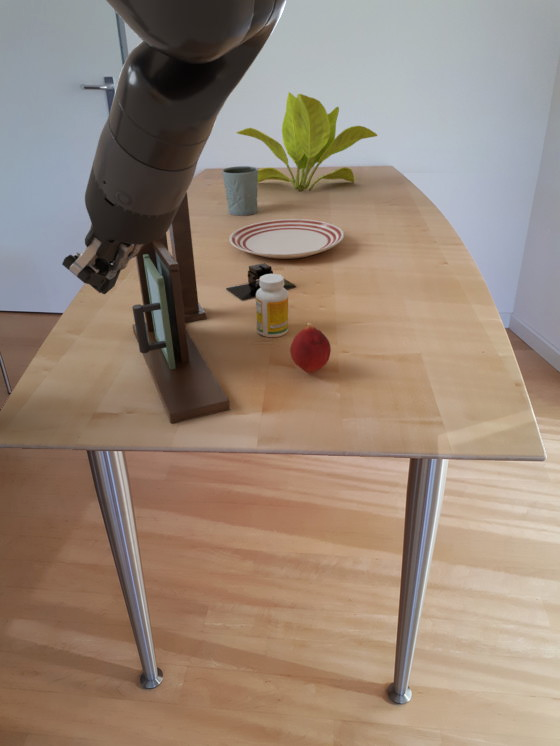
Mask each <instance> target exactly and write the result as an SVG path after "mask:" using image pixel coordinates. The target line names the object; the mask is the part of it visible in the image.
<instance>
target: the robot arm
mask: <svg viewBox="0 0 560 746" xmlns="http://www.w3.org/2000/svg"><path fill="white" fill-rule="evenodd" d="M105 1H106V3H107V4H109V6H110V7H111V8H112V9H113V10H114V12H115V13H116V14H117V15H118V17H120V19H121V20H122V21H123V22H124V23H125V24H126V25H127V27H128V28H129V29H130V30H131V31H132V33H134V34H135V35H136V36H137V37H138V38H139V39H141V41H140V42H139V43H138V44H137V45H136V46H135V47H134V48H133V49H132V50H131V52H130V53H129V55H128V56H127V57H126V59H125V61H124V63H123V66H122V68H121V71H120V73H119V77H118V81H117V84H116V87H115V92H114V96H113V99H112V103H111V106H110V111H109V114H108V117H107V119H106V122H105V124H104V125H103V128H102V130H101V132H100V135H99V138H98V142H97V146H96V148H95V149H96V150H95V154H94V158H93V161H92V165H91V169H90V173H89V177H88V180H87V181H88V182H87V184H86V187H85V193H84V205H85V209H86V212H87V214H88V218H89V220H90V223H91V224H90V228H89V230H88V233H87V234H86V235H85V237H84V245H85V247H86V248H85V249H84V250H83V252H81V253H80V252H76V253H75V254H74V255H73V254H69V255H67V256H65V257H64V258H63V261H62V262H61V265H62V266H63V267H64V268H65V269H67V270H68V271H69V272H70V273H71V274H73V276H75V277H76V278H77V279H78V280H80V281H81V282H82V283H83V284H86V285H90V286H91V287H92V289H94V290H95V291H97V293H99V294H102V295H106V294H107V293H108V292H109V291H111V290H112V289H113V288H114V287H115V286H116V283H117V281H118V278H119V276H120V273H121V271H123V270H125V269H126V268H127V266H128V264H129V261H131V260H132V259H133V258H136V257H135V256H137V255H138V254H139V252H140V250H141V249H142V248H143V246H144V245H145V244H147V243H152V242H154V241H156V240H158V239H160V238H161V237H163V236H164V235H165V233H166V234H167V233H168V231H169V227H170V225H171V223H172V221H173V219H174V217H175V215H176V213H177V211H178V209H179V206H180V204H181V202H182V200H183V198H184V196H185V194H186V192H187V193H188V190H189V189H190V186H191V183H192V181H193V179H194V176H195V172H196V170H197V166H198V162H199V159H200V157H201V155H202V152H203V150H204V148H205V146H206V145H207V142H208V140H209V138H210V136H211V134H212V132H213V130H214V127H215V125H216V122H217V119H218V117H219V114H220V112H221V110H222V109H223V107H224V105H225V104H226V102H227V100H228V99H229V97H230V96H231V95H232V93H233V92H234V91H235V89H236V88H237V87H238V85H239V83H240V82H241V81H242V80H243V78H244V76H245V75H246V74H247V72H248V71H249V70H250V68H251V66H252V65H253V63H254V62H255V61H256V59H257V57H258V56H259V54H260V53H261V51H262V50H263V48H264V47H265V45H266V44H267V42H268V40H269V39H270V37H271V36H272V34H273V32H274V30H275V28H276V26H277V25H278V23H279V20H280V19H281V17H282V14H283V12H284V9H285V7H286V5H287V4H286V3H287V1H288V0H105Z"/></svg>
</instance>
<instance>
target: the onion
mask: <svg viewBox="0 0 560 746" xmlns="http://www.w3.org/2000/svg"><path fill="white" fill-rule="evenodd" d="M305 326H306V327H305V328H303V329H302V330H300V331H298V333H297V334H296V335H295V336H294V337H293V339H292V341H291V344H290V348H289V352H290V356H291V359H292V362H293V363H294V364H295V365H297V367H298V368H300V369H301V370H303V371H304V372H306V373H308V374H311V373H315V372H316V371H319V370H320V369H322V368H323V367H325V365H327V363H328V362H329V360H330V357H331V352H332V349H331V343H330V341H329V339H328V337H327V336H326V335H325V334H324V333H323V332H322V331H321V330H320V329H318V328H317V327H315V326H314V325H313V323H311V322H306V325H305Z"/></svg>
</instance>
